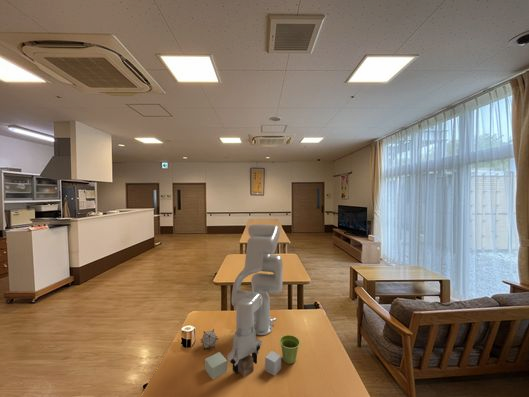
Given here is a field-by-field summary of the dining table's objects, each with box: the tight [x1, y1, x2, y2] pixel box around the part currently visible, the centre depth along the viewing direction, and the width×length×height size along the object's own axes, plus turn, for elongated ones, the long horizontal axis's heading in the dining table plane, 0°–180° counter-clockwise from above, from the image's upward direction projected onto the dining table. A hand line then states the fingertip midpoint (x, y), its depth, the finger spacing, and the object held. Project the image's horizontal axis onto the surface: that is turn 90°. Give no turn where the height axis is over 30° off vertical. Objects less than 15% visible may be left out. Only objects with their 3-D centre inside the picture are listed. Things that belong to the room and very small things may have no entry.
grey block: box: [264, 350, 282, 376], centre depth 102 cm, size 5×5×6 cm
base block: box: [204, 351, 228, 380], centre depth 101 cm, size 7×7×5 cm
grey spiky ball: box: [200, 329, 219, 351], centre depth 116 cm, size 9×8×10 cm
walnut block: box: [237, 354, 254, 378], centre depth 101 cm, size 5×5×6 cm
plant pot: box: [279, 334, 301, 365], centre depth 108 cm, size 9×9×9 cm
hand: (245, 367), depth 101 cm, fingers open, 9 cm apart
